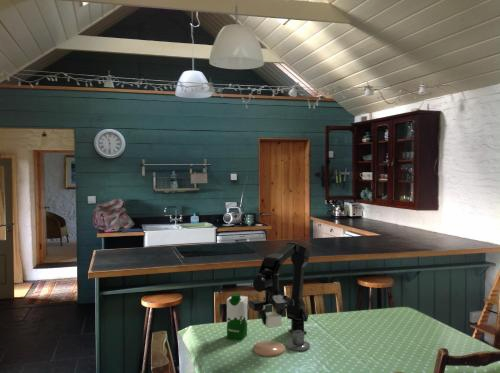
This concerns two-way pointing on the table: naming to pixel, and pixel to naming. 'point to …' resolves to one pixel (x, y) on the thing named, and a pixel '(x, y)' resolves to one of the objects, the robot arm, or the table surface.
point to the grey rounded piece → (298, 342)
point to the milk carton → (237, 317)
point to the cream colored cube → (272, 319)
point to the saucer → (269, 348)
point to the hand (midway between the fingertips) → (271, 323)
